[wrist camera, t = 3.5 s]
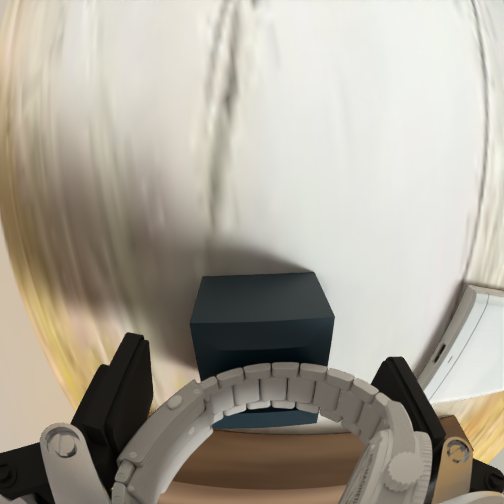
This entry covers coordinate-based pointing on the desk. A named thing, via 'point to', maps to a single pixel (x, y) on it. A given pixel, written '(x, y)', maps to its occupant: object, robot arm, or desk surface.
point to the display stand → (272, 468)
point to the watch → (273, 392)
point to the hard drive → (469, 350)
